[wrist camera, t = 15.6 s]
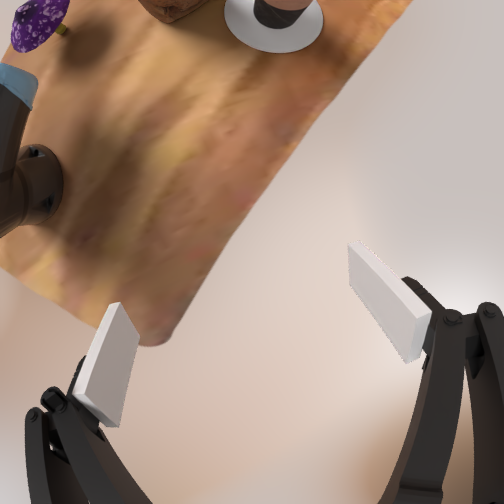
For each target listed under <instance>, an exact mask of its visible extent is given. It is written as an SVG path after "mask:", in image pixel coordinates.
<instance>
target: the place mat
mask: <svg viewBox="0 0 504 504" xmlns="http://www.w3.org/2000/svg"><path fill="white" fill-rule="evenodd" d="M254 1H255V0H227V1H226V3H225V8H224V16H225V21H226V23H227V26H228V27H229V29H230V31H231V32H232V33H233V34H234V35H235V36H236V37H237V38H238V39H239V40H240V41H242V42H243V43H245V44H246V45H248V46H250V47H252V48H255V49H258V50H261V51H265V52H271V53H288V52H294V51H297V50H300V49H303V48H305V47H306V46H308V45H309V44H311V43H312V42H313V41H314V40H315V39H316V38H317V37H318V35H319V34H320V32H321V30H322V26H323V15H322V11H321V8H320V6H319V4H318V3H317V1H316V0H313V1H312V3H311V4H310V5H309V6H308V7H307V9H306V10H305V11H304V12H303V13H302V15H301V16H300V17H299V18H298V19H297V20H296V22H295V23H294V24H293V25H291V26H290V27H288V28H284V29H272V28H268V27H266V26H264V25H262V24H261V23H259V22H258V21H257V19H256V18H255V16H254V13H253V8H254Z"/></svg>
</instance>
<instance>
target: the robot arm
mask: <svg viewBox="0 0 504 504" xmlns="http://www.w3.org/2000/svg"><path fill="white" fill-rule="evenodd" d="M37 89H38V80H37V78H36V77H35V76H34V75H33V74H31V73H29V72H27V71H24V70H22V69H19V68H16V67H13V66H10V65H7V64H4V63H0V238H2V237H3V236H4V235H6V234H7V233H9V232H10V231H12V230H13V229H14V228H16V227H18V226H24V225H36V224H39V223H41V222H43V221H45V220H46V219H48V218H49V217H51V216H52V215H53V214H54V212H55V211H56V210H57V208H58V206H59V203H60V201H61V197H62V191H63V178H62V172H61V168H60V165H59V162H58V160H57V158H56V157H55V155H54V154H53V153H52V151H51V150H49V149H48V148H47V147H45V146H43V145H40V144H32V145H27V146H23V147H21V148H20V144H21V140H22V137H23V133H24V129H25V126H26V123H27V119H28V116H29V113H30V111H32V108H33V107H32V104H33V101H34V98H35V95H36V92H37ZM348 257H349V280H350V286H351V287H352V289H353V290H354V291H355V292H356V294H357V295H358V297H359V298H360V299H361V301H362V302H363V303H364V305H365V306H366V308H367V309H368V310H369V312H370V313H371V314H372V316H373V317H374V319H375V320H376V321H377V323H378V324H379V326H380V327H381V328H382V330H383V331H384V333H385V334H386V336H387V337H388V338H389V340H390V341H391V343H392V344H393V346H394V347H395V349H396V350H397V352H398V353H399V355H400V356H401V358H402V359H403V361H404V362H405V364H407V363H409V362H412V361H414V360H416V359H418V358H419V357H420V354H421V352H422V349H423V350H424V351H425V353H426V354H427V355H426V358H425V361H424V364H423V367H422V369H423V374H422V379H421V383H420V388H419V392H418V396H417V400H416V405H415V408H414V412H413V415H412V419H411V422H410V426H409V429H408V432H407V435H406V438H405V441H404V445H403V447H402V450H401V453H400V455H399V458H398V461H397V463H396V466H395V468H394V471H393V473H392V476H391V478H390V481H389V483H388V485H387V487H386V489H385V491H384V494H383V495H382V497H381V499H380V501H379V502H378V504H441V501H442V498H443V491H442V483H443V480H444V476H445V473H446V470H447V466H448V463H449V459H450V456H451V452H452V448H453V444H454V439H455V435H456V430H457V424H458V419H459V413H460V406H461V399H462V390H463V380H464V368H465V369H466V375H467V381H468V387H469V394H470V400H471V410H472V419H473V432H474V433H473V434H474V483H473V502H472V503H473V504H504V316H503V314H502V311H501V310H500V308H499V307H498V306H497V305H496V304H494V303H491V302H484V303H481V304H480V305H479V307H478V309H477V312H476V313H472V314H467V315H462V314H461V313H460V312H459V311H457V310H453V309H445V308H444V307H443V306H442V305H441V304H440V303H439V302H438V301H437V300H436V299H435V298H434V297H433V296H432V295H431V294H430V293H428V291H427V290H426V289H425V288H423V286H422V285H421V284H420V283H419V282H418V281H417V280H414V279H412V278H410V277H408V276H407V277H405V278H402V279H400V278H399V277H398V276H397V275H396V274H395V273H394V272H393V271H392V270H391V269H390V268H389V267H388V266H387V265H386V264H384V262H382V261H381V260H380V259H379V258H378V257H377V256H376V255H375V254H374V253H373V252H372V251H371V250H370V249H368V248H367V247H366V246H365V245H364V244H363V243H362V242H361V241H356V242H352V243H349V244H348ZM139 339H140V335H139V334H138V332H137V330H136V329H135V327H134V325H133V324H132V322H131V320H130V318H129V317H128V315H127V313H126V311H125V310H124V308H123V306H122V304H121V302H117V303H113V304H109V307H108V309H107V311H106V313H105V315H104V317H103V319H102V321H101V323H100V326H99V328H98V330H97V332H96V335H95V337H94V339H93V342H92V344H91V346H90V348H89V351H88V353H87V355H86V356H84V357H83V358H82V359H81V361H80V362H79V364H78V366H77V369H76V372H75V374H74V378H73V379H72V381H71V384H70V387H69V389H68V392H67V395H66V396H65V395H64V393H63V392H62V391H61V390H60V389H59V388H58V387H55V386H54V387H50V388H48V389H47V390H46V391H45V392H44V393H43V395H42V397H41V405H42V406H43V407H44V408H46V409H47V410H48V412H45V413H44V412H43V411H42V410H41V409H39V408H38V407H33V408H32V409H30V410H29V411H28V412H27V414H26V418H25V455H26V468H27V478H28V486H29V493H30V499H31V504H89V502H90V504H152V502H151V501H150V500H149V499H148V498H147V496H146V495H145V493H144V492H143V491H142V490H141V489H140V487H139V486H138V485H137V483H136V482H135V480H134V479H133V478H132V476H131V475H130V473H129V472H128V471H127V469H126V468H125V466H124V465H123V463H122V462H121V460H120V459H119V457H118V456H117V454H116V452H115V451H114V449H113V448H112V446H111V445H110V443H109V441H108V439H107V438H106V436H105V434H104V433H103V431H102V430H101V428H100V427H98V426H99V422H101V423H103V424H104V425H105V426H106V427H119V425H120V420H121V415H122V410H123V405H124V400H125V395H126V391H127V387H128V382H129V378H130V374H131V369H132V366H133V362H134V358H135V354H136V350H137V347H138V343H139ZM50 445H51V446H52V447H53V451H52V450H51V449H50ZM88 501H89V502H88Z"/></svg>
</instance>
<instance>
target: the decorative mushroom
mask: <svg viewBox="0 0 504 504" xmlns="http://www.w3.org/2000/svg"><path fill="white" fill-rule="evenodd" d="M69 3H70V0H29V1H28V2H26V3H25V4H23V5H22V6H20V7H19V8H18V9H17V10H16V12H15V17H14V21H13V25H12V32H11V43H12V45H13V48H14V50H16V51H18V52H21V53H26V52H29V51H31V50H33V49H35V48H37V47H38V46H39V45H41V44H42V43H44V42H45V41H46V40H47V39H48V38H49V37H50V36H51V35H52V34H53V33H54V32H56V33H57V34H62V33H64V32H65V30H66V26H65V25H63V24H62V23H61V22H62V20H63V18H64V16H65V15H66V13H67V9H68V6H69Z"/></svg>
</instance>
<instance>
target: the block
mask: <svg viewBox="0 0 504 504" xmlns="http://www.w3.org/2000/svg"><path fill="white" fill-rule="evenodd" d="M138 1H139V2H140V3H141V4H142V6H143V7H144V8H145V9H146V10H147V11H148V12H149V13H150V14H151V15H153V16H154V17H155V18H157V19H158V20H160V21H163V22H166V23H170V22H173V21H174V20H176V19H179V18H181V17H183V16H186V15H187V14H189V13H190V12H192V11H194V10H195V9H197V8H198V7H200V6H201V5H202V4H204V3H205V2H206V1H207V0H138Z"/></svg>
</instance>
